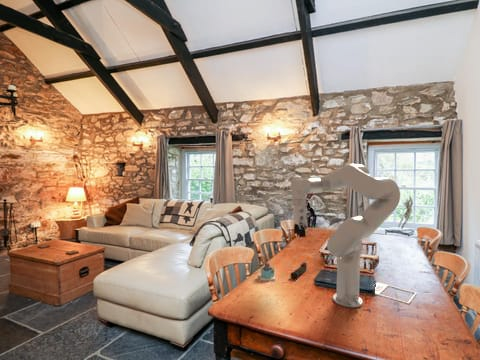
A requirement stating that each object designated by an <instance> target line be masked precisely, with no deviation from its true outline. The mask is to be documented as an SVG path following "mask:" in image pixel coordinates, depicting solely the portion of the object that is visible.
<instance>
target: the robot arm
mask: <svg viewBox="0 0 480 360" xmlns="http://www.w3.org/2000/svg"><path fill="white" fill-rule="evenodd" d="M290 182H291V183H290V188H291V189H290V190H291V193H290V194H291V195H290V196H291V206H293V207H292V208H293V209H292V211H293V212H292V218H293V220H292V221H293V233H294V234H298V238H306V225H307V224H308V221H307V220H308V219H307V218H308V217H307V209H306V208H307V194H315V193H316V194H317V193H323V192H328V191H333V190H337V189H342V188H346V187H348V188H349V189H351V190H352V191H354V192H356V193H358V194H359V195H361V196H362V197H364V198H366V199H368V200H373V201H372V202H371V203H369V204H368V205H367V206H366V208H365V209H364V210H363V211H362V212H361V213H360V214H359V215H357V216H352V217H350V218H347V219H345V220H344V221H343V222H342V223H341V224H340V225H339V226H338V227H337V228H336V230H335V231H334V232H333V233H332V234H331V235H330V236H329V238H328V239H327V243H326V247H327V250H328V253H329V254H330V255H331V256H332V257H335V258H337V261H336V262H337V263H336V293H334V294H333V296H332V300H333V302H334V303H336V304H337V305H340V307H341V306H342V307H345V308H346V307H347V308H353V309H354V308H359V307H361V306H362V305H363V299H362V298H361V297H360V275H361V274H360V273H361V272H360V270H361V256H362V255H361V254H362V251H363V241H362V240H364V239H368V238H370V237H371V236H372V235H373V234H374V233H375V232H376V231H377V229H379V228H380V227H381V226H382V225H383V224H384V222H385V221H386V220H387V219H388V218H389V217H390V216H391V215H392V214H393V212H395V210H396V209H397V208H398V206H399V203H400V200H401V191H400V187H399V186H398V183H397V182H396V181H395V180H393V179H391V178H390V177H374V176H372V175H370V171H369V168H368V167H367V166H366V165H363V164H361V163H348V164H345V165H343V166H342V167H341V168H338V169H334V170H332V171H330V173H329V174H328V175H326V176H321V177H313V178H312V177H310V178H293V179H291V180H290Z"/></svg>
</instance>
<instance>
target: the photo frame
mask: <svg viewBox="0 0 480 360" xmlns="http://www.w3.org/2000/svg"><path fill="white" fill-rule="evenodd" d="M375 284H376V287H375V294H374V295H376V296H380V297H382V298H387V299H389V300H393V301H396V302H399V303H403V304H406V305H410V304H411V303H412V301H413V300H414V298H415V297H416V296H417V294H418V292H416V291H412V290H409V289H404V288H401V287H396V286H393V285H390V284H386V283H382V282H378V281H377V282H375ZM388 287H389V288H392V289H396V290H399V291H404V292H407V293H410V294H413V295H412V296H411V298H410V299H409V300H408V301H405V300H402V299H397V298H394V297H391V296H388V295H385V294H382V293H383V292H384V291H385V290H386V289H387V288H388Z"/></svg>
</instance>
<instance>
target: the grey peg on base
mask: <svg viewBox="0 0 480 360" xmlns="http://www.w3.org/2000/svg"><path fill="white" fill-rule="evenodd" d="M263 267H264V270H270V267H271V265H270V262H265V263H264V266H263ZM258 275H259V280H260V281H261V282H263V281H264V282H266V281H267V282H268V281H272V282H273V281H275V282H276V277H275V275H274V277H273V278H267V279H265V278H262V277H261V272H259V273H258Z"/></svg>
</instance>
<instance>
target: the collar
mask: <svg viewBox="0 0 480 360" xmlns="http://www.w3.org/2000/svg"><path fill="white" fill-rule="evenodd" d="M260 273H261V277H262V278H265V279H267V278H273V277H274V276H275V269H274V267H271V266H270V270H264V266H262V267H260Z"/></svg>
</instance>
